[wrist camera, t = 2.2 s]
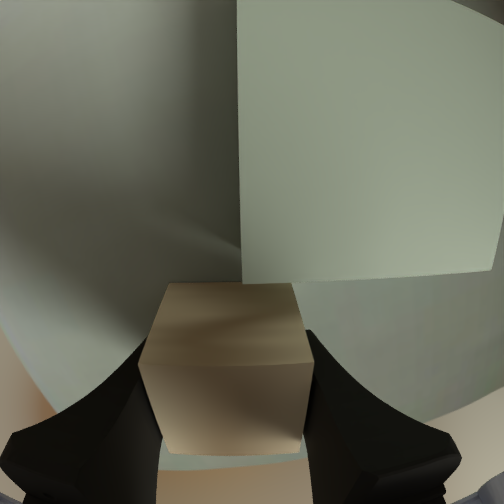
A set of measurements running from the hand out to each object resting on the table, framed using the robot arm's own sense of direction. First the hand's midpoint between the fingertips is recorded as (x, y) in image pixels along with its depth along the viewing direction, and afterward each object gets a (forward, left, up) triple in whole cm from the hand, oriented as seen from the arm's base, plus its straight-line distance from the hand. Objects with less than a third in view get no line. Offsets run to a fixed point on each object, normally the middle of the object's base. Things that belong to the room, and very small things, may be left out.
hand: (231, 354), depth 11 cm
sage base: (-5, -8, -1) cm, 10 cm away
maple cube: (0, 0, -1) cm, 1 cm away
